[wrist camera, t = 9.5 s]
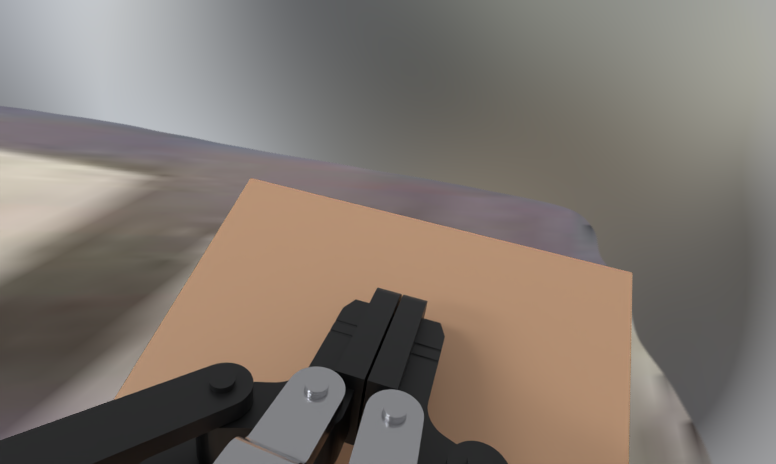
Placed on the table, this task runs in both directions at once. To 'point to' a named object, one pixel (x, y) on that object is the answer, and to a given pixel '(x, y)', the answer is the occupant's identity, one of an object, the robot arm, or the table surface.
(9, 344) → the table surface
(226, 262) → the panel
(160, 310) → the table surface
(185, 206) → the table surface
